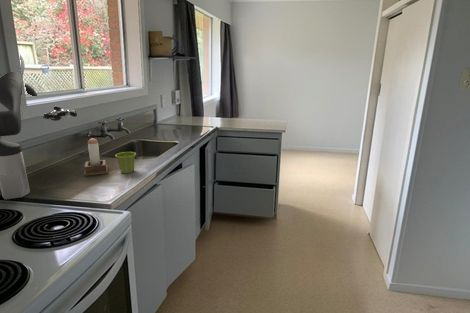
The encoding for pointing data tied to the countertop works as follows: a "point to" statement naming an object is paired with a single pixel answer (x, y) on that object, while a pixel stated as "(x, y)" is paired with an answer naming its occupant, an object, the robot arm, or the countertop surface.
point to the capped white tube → (93, 152)
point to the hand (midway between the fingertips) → (66, 115)
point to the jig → (95, 168)
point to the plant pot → (126, 161)
